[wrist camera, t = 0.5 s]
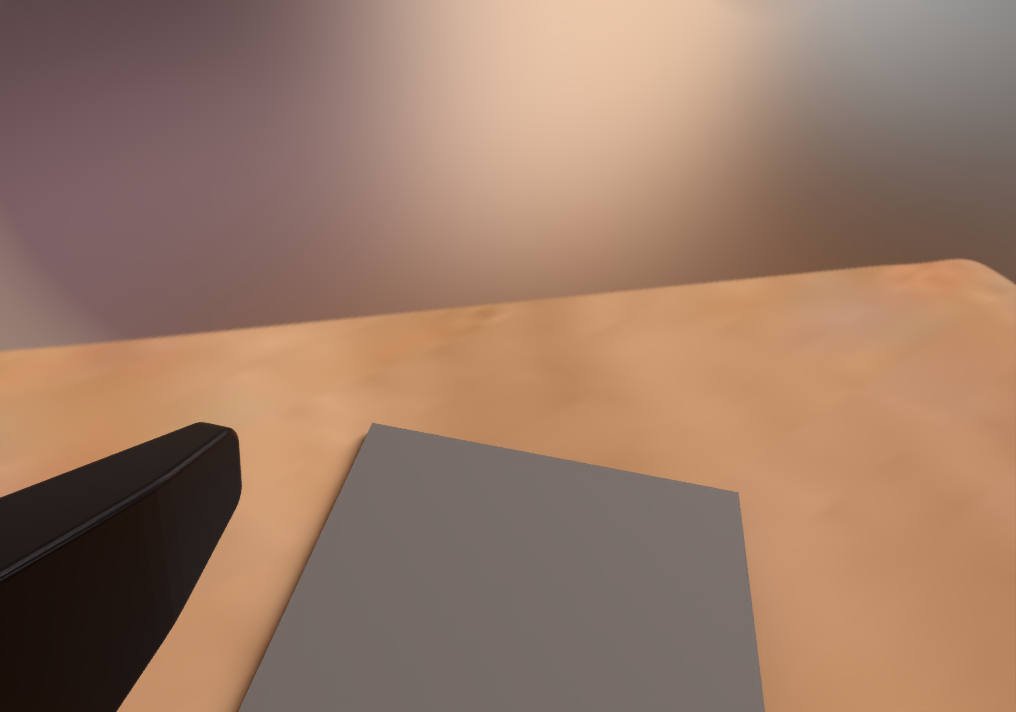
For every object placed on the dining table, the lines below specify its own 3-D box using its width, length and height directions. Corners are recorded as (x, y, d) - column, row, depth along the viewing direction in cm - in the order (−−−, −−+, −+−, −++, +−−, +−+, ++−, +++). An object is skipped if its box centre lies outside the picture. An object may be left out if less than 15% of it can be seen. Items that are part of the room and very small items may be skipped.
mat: (789, 986, 18) (797, 981, 17) (184, 843, 19) (180, 835, 19) (734, 501, 30) (738, 492, 30) (372, 432, 31) (372, 422, 31)
